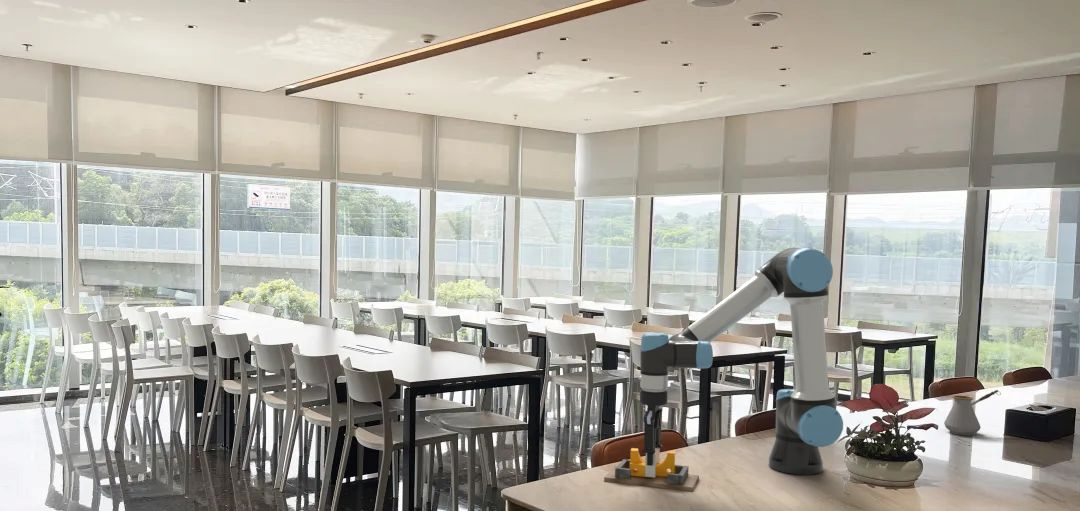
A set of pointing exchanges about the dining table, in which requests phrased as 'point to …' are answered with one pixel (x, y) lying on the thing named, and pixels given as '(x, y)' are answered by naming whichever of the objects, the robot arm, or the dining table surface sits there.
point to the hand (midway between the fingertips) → (652, 473)
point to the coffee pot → (964, 415)
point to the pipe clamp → (660, 468)
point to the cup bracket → (672, 481)
